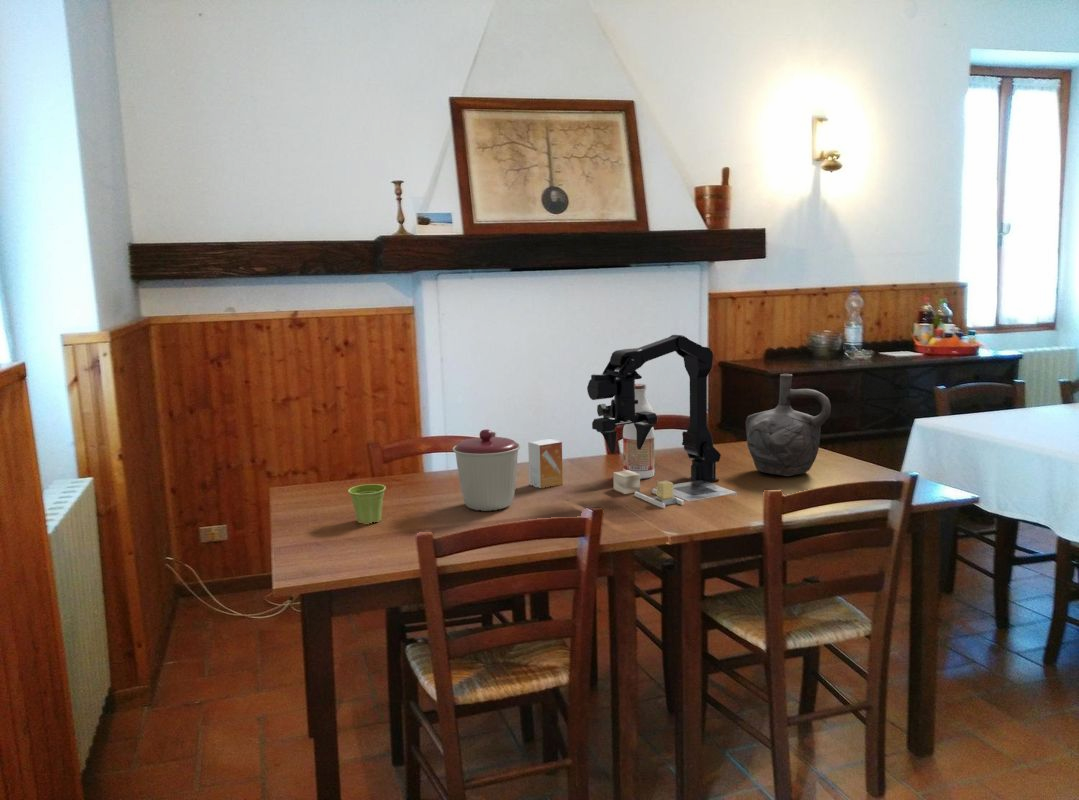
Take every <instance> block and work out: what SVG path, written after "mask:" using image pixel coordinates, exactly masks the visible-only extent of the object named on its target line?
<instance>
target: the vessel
mask: <svg viewBox="0 0 1079 800" xmlns="http://www.w3.org/2000/svg"><path fill="white" fill-rule="evenodd" d="M792 379H793V374H792V373H782V374H780V375H779V394H778V395H779V398H778V404H777V406H775V408H772V409H769V410H764V411H760V412H756V413H753V414H749V415H748V416H747V417H746V420H745V432H746V433H745V434H746V445H747V448H748V450H749V454H750V456H751V458H752V461H753V464H754V467H755V469H756V470H758V471H759V472H761V473H765V474H770V475H776V476H778V475H779V476H782V477H783V476H784V477H791V476H795V474H796V475H800V474H805V473H807V472H809V471H810V470H811V469H812V467H813V465H814V463H815V461H816V458H817V455H818V453H819V447H820V440H821V430H822V428H821V427H822V425H823V424H825V422H826V421H827V420H829V417H830V415H831V413H832V406H831V402H830V399H829V398H828V396H826V395H825V394H824V393H822V392H820V391H818V390H817V389H812V388H811V389H810V388H798V389H793V388H792ZM799 398H801V399H802V398H808V399H809V398H810V399H815V400H817V401H818V402H819V403H820V405H821V411H820V413H819V414H818V415H816V416H815V415H814V416H813V415H810V414H809V413H804V412H801V411H798V410H794V409H793V408H792V406H791V401H792V400H794V399H799Z"/></svg>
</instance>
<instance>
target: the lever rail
mask: <svg viewBox="0 0 1079 800" xmlns="http://www.w3.org/2000/svg"><path fill="white" fill-rule="evenodd" d="M652 494H654V495H655V496H657V489H656V488H652ZM634 497H636V498H638V499H642V500H643V501H644V502H645V501H646V502H648V503H650V504H652V505H654V506H657V507H659V508H662V509H666V505H665V503H662V502H660V501H658V500H655V499H654V497H650V496H648V495H646V494H643V493H641V492H634ZM673 497H675V496H674V495H673ZM676 504H679V505H681V506H684V505H685V500H683V499H681V498H679V497H676Z"/></svg>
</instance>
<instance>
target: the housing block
mask: <svg viewBox="0 0 1079 800" xmlns="http://www.w3.org/2000/svg"><path fill="white" fill-rule="evenodd" d="M613 490H614V491H617V492H619V493H622V494H624V495H626V494H627V495H629V494H633V493H634V494H635V492H639V493H641V479H640V474H637V473H635V472H632V471H630V470H626V471H623V470H621V471H615V472H613Z"/></svg>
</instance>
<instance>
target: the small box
mask: <svg viewBox="0 0 1079 800" xmlns="http://www.w3.org/2000/svg"><path fill="white" fill-rule="evenodd" d="M527 445H528V447H527V448H528V480H529V481H528V482H529V486H532V485H534V486H536V487H535V488H537V487H539V488H538V489H540V488H541V489H545V487H546V488H551V487H556V485H557V486H562V485H563V484H564V482H563V474H564V473H563V442H562V441H560V440H558V439H553V438H548V439H547V438H546V439H540V440H536V441H535V440H534V441H529V442H528V443H527ZM561 484H562V485H561ZM534 486H533V487H534ZM550 486H551V487H550Z"/></svg>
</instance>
